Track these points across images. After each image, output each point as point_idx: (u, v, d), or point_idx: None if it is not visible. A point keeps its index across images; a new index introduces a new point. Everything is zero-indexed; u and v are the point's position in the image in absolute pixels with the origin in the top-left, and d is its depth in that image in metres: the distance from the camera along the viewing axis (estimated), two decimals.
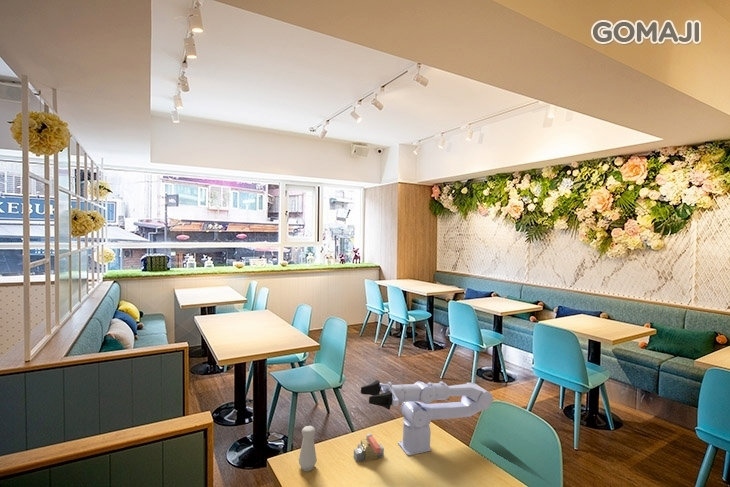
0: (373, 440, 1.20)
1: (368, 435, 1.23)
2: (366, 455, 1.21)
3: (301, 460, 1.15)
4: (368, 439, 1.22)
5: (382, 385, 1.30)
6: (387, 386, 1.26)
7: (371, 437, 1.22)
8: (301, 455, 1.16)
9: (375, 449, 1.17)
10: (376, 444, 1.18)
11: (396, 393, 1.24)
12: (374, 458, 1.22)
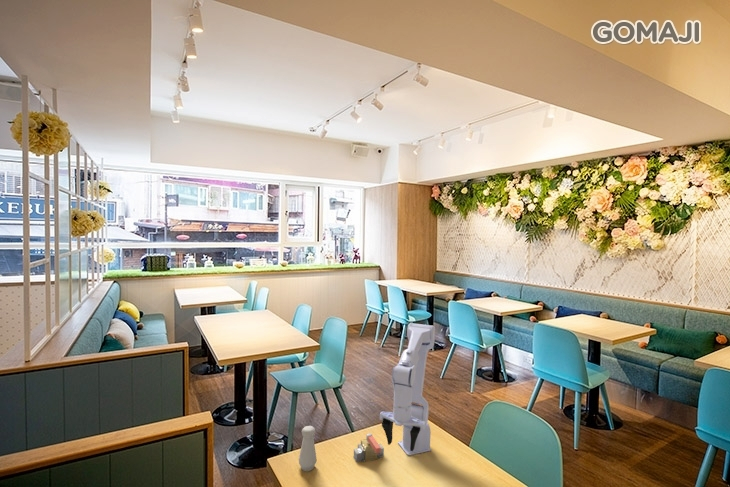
0: (373, 440, 1.20)
1: (368, 435, 1.23)
2: (366, 455, 1.21)
3: (301, 460, 1.15)
4: (368, 439, 1.22)
5: None
6: None
7: (371, 437, 1.22)
8: (301, 455, 1.16)
9: (375, 449, 1.17)
10: (376, 444, 1.18)
11: (408, 417, 1.12)
12: (374, 458, 1.22)
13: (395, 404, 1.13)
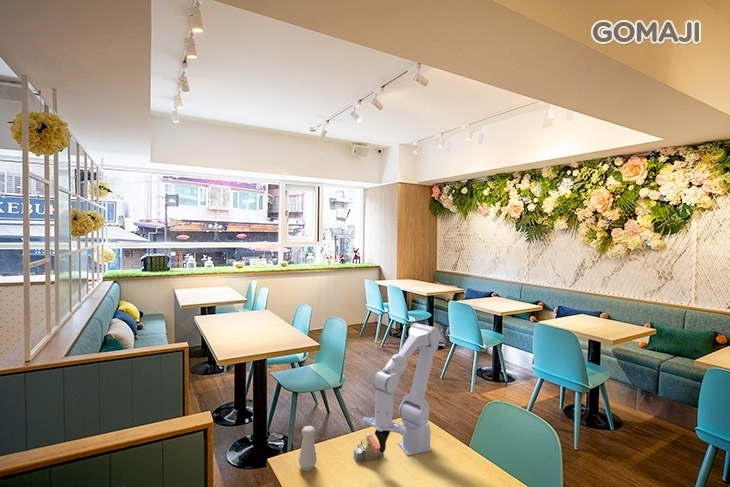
0: (373, 440, 1.20)
1: (368, 435, 1.23)
2: (366, 455, 1.21)
3: (301, 460, 1.15)
4: (368, 439, 1.22)
5: None
6: None
7: (371, 437, 1.22)
8: (301, 455, 1.16)
9: (375, 449, 1.17)
10: (376, 444, 1.18)
11: (390, 422, 1.15)
12: (374, 458, 1.22)
13: (375, 408, 1.16)
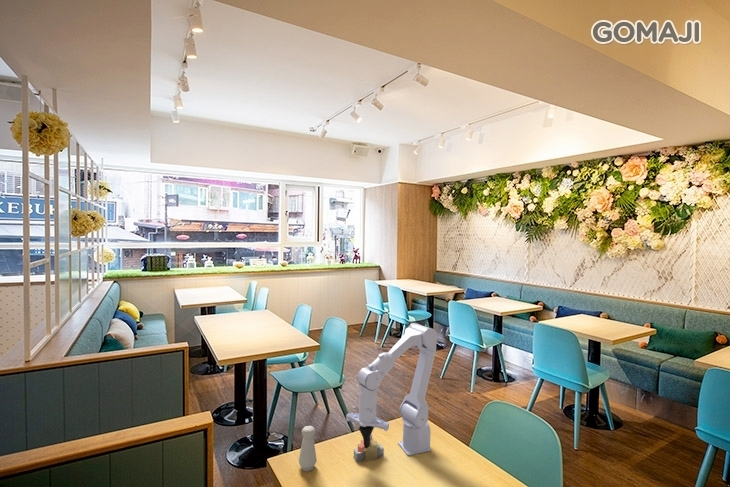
0: None
1: None
2: (366, 455, 1.21)
3: (301, 460, 1.15)
4: None
5: None
6: None
7: None
8: (301, 455, 1.16)
9: None
10: (363, 444, 1.18)
11: (373, 418, 1.17)
12: (374, 458, 1.22)
13: (359, 403, 1.19)
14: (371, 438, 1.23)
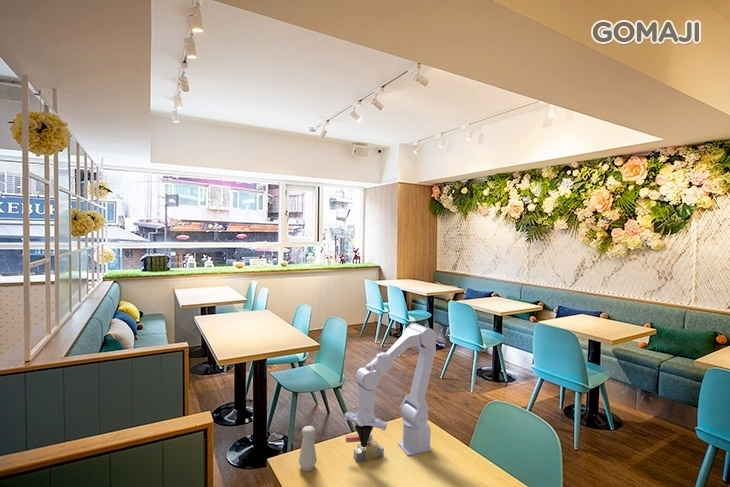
0: None
1: None
2: (366, 455, 1.21)
3: (301, 460, 1.15)
4: None
5: None
6: None
7: None
8: (301, 455, 1.16)
9: None
10: (352, 436, 1.22)
11: (371, 417, 1.17)
12: (374, 458, 1.22)
13: None
14: None
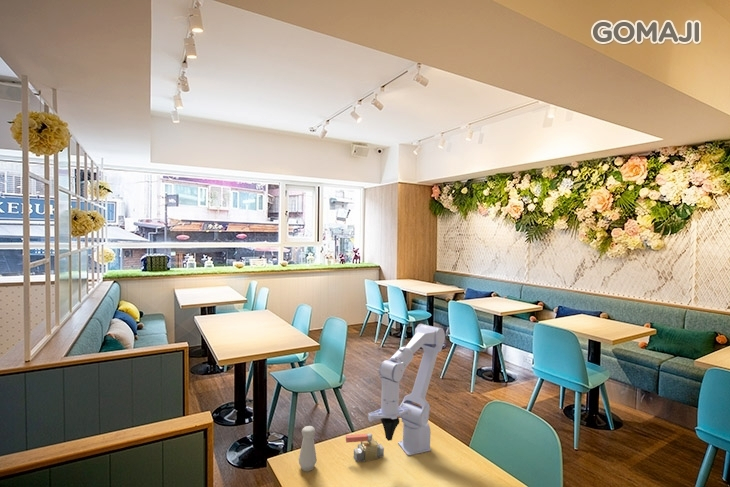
0: (359, 435, 1.23)
1: (368, 434, 1.24)
2: (366, 455, 1.21)
3: (301, 460, 1.15)
4: None
5: None
6: None
7: (364, 435, 1.23)
8: (301, 455, 1.16)
9: None
10: (352, 436, 1.22)
11: (398, 407, 1.18)
12: (374, 458, 1.22)
13: (381, 397, 1.17)
14: (368, 438, 1.23)
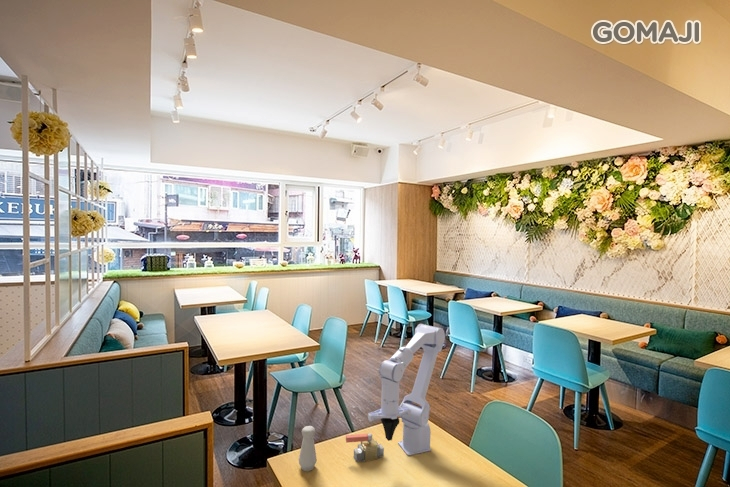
0: (359, 435, 1.23)
1: (368, 434, 1.24)
2: (366, 455, 1.21)
3: (301, 460, 1.15)
4: None
5: None
6: None
7: (364, 435, 1.23)
8: (301, 455, 1.16)
9: None
10: (352, 436, 1.22)
11: (398, 407, 1.18)
12: (374, 458, 1.22)
13: (381, 397, 1.17)
14: (368, 438, 1.23)
